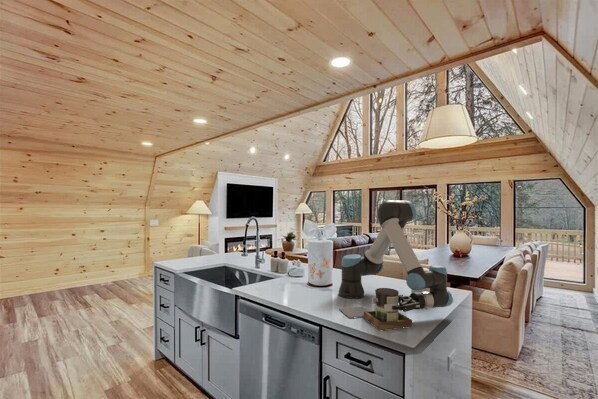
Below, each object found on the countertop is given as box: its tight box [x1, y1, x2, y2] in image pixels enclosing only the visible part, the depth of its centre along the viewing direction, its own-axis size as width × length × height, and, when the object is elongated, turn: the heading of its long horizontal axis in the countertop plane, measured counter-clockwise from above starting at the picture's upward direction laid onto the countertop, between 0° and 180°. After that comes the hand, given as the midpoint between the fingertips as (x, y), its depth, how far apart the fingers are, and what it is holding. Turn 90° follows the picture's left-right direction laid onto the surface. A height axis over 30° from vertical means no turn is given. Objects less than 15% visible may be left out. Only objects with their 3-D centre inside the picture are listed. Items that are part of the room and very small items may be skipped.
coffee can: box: [374, 287, 400, 322], centre depth 138 cm, size 10×10×14 cm
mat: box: [338, 306, 369, 319], centre depth 150 cm, size 13×13×1 cm
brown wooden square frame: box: [363, 309, 413, 331], centre depth 138 cm, size 15×15×3 cm
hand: (378, 304), depth 137 cm, fingers closed on coffee can, 10 cm apart
